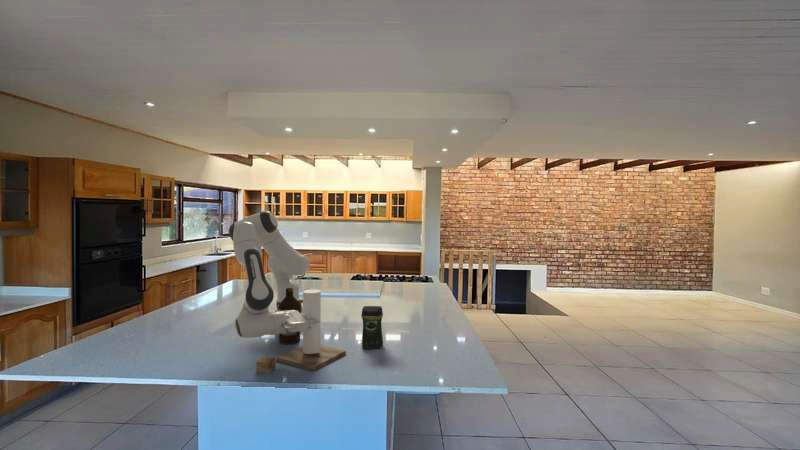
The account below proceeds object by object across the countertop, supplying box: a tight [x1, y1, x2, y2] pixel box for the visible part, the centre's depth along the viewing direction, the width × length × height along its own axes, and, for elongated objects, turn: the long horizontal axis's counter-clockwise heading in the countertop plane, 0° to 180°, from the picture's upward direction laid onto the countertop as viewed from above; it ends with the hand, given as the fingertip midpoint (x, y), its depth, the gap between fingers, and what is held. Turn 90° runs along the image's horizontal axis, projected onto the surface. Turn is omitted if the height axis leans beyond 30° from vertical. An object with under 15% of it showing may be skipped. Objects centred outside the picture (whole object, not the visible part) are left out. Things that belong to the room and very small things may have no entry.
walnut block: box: [255, 356, 277, 374], centre depth 147 cm, size 5×5×4 cm
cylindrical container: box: [302, 289, 322, 354], centre depth 159 cm, size 7×7×25 cm
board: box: [276, 344, 347, 372], centre depth 159 cm, size 20×20×2 cm
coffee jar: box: [360, 305, 384, 350], centre depth 172 cm, size 10×8×19 cm
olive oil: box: [278, 288, 302, 345], centre depth 179 cm, size 11×11×25 cm
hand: (313, 318), depth 159 cm, fingers closed on cylindrical container, 7 cm apart
